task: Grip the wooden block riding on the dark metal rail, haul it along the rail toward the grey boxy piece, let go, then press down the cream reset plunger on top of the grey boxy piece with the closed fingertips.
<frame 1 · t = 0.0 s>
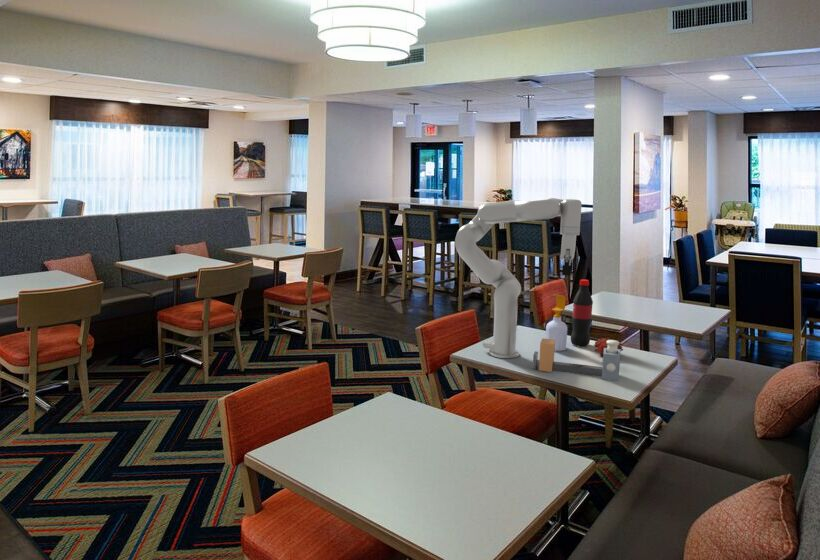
hand: (567, 273, 238), 37 cm above the table, tool pointing down, fingers open, 9 cm apart
dragon fruit: (607, 356, 253), on the table
cola bottle: (579, 345, 268), on the table
grey boxy piece: (609, 376, 227), on the table
wooden block: (547, 354, 233), point 6 cm above the table, slide at 0.0 cm
soap bottle: (555, 348, 262), on the table
rail: (568, 371, 232), on the table
plunger: (612, 348, 225), point 11 cm above the table, slide at 0.0 cm
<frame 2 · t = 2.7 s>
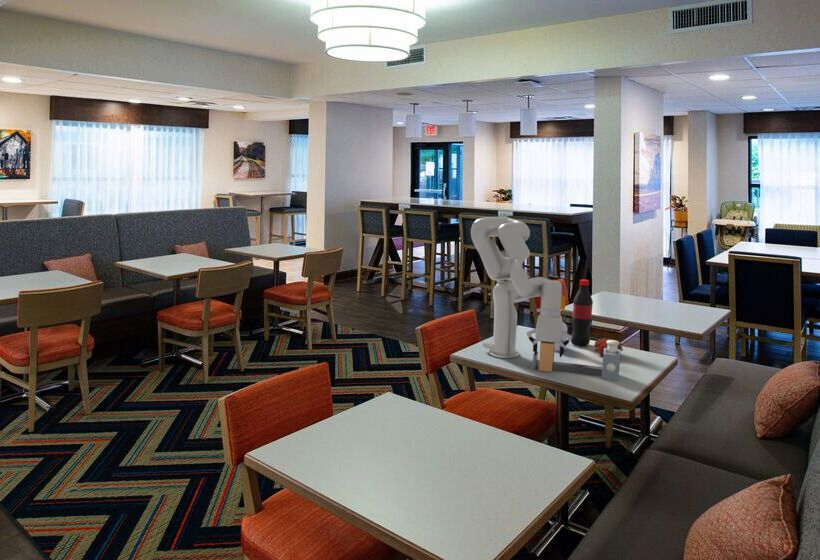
hand: (548, 354, 233), 6 cm above the table, tool pointing down, fingers open, 9 cm apart
nothing on the table moved.
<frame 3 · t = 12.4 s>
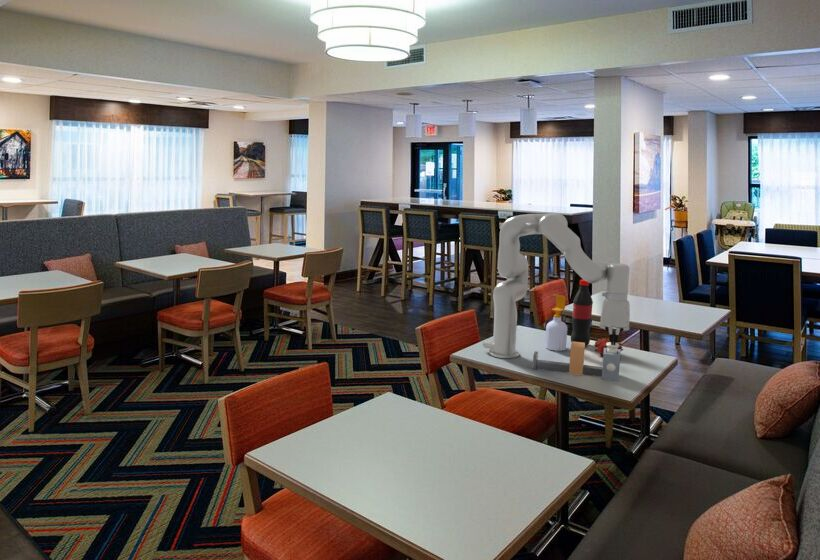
hand: (613, 343, 225), 13 cm above the table, tool pointing down, fingers closed
wooden block: (577, 358, 230), point 6 cm above the table, slide at 11.4 cm
plunger: (612, 350, 225), point 10 cm above the table, slide at 0.9 cm, touching gripper
everything else where it was.
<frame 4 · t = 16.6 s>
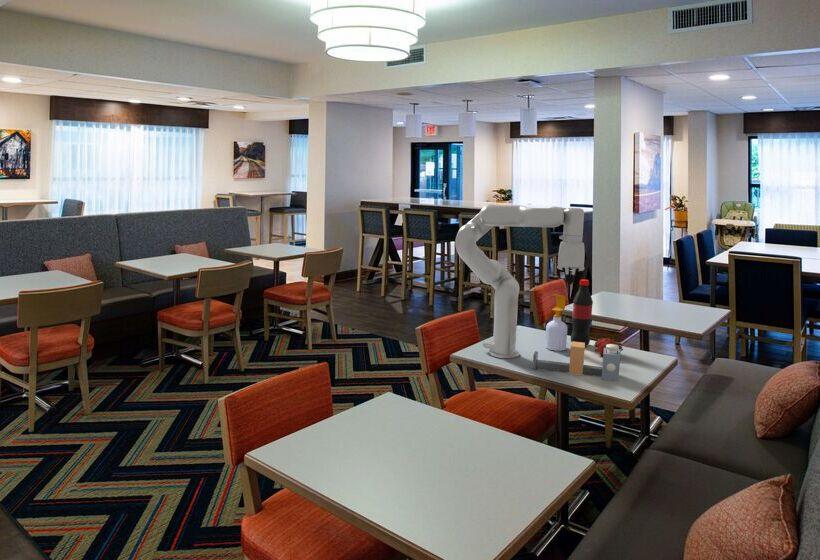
hand: (569, 283, 241), 32 cm above the table, tool pointing down, fingers closed
plunger: (611, 352, 225), point 10 cm above the table, slide at 1.7 cm
everything else where it was.
at the end: wooden block slide at 11.4 cm; plunger slide at 1.7 cm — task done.
